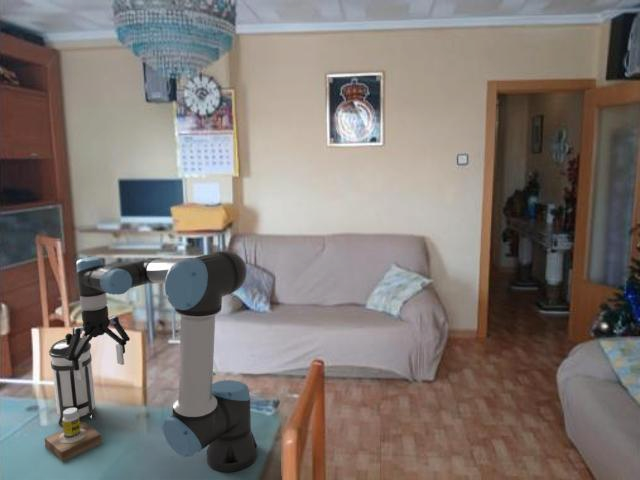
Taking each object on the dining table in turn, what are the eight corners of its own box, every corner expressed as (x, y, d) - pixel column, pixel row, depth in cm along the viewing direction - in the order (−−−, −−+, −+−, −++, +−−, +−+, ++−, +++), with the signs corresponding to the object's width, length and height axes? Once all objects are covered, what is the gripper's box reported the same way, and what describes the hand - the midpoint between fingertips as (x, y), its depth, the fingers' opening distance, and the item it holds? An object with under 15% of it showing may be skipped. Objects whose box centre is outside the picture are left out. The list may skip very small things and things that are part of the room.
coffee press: (40, 422, 167) (30, 339, 162) (79, 401, 182) (71, 323, 176) (77, 433, 160) (68, 346, 155) (115, 410, 175) (107, 330, 170)
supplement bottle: (74, 440, 151) (71, 415, 149) (60, 438, 152) (57, 413, 150) (84, 431, 156) (81, 407, 154) (71, 430, 156) (68, 406, 155)
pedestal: (101, 442, 155) (100, 433, 154) (62, 461, 146) (61, 451, 145) (83, 429, 162) (82, 421, 162) (45, 446, 153) (44, 437, 153)
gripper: (124, 295, 165) (129, 355, 168) (47, 315, 145) (55, 383, 149) (137, 299, 160) (142, 360, 164) (59, 320, 141) (67, 389, 144)
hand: (101, 371), depth 156 cm, fingers open, 13 cm apart
